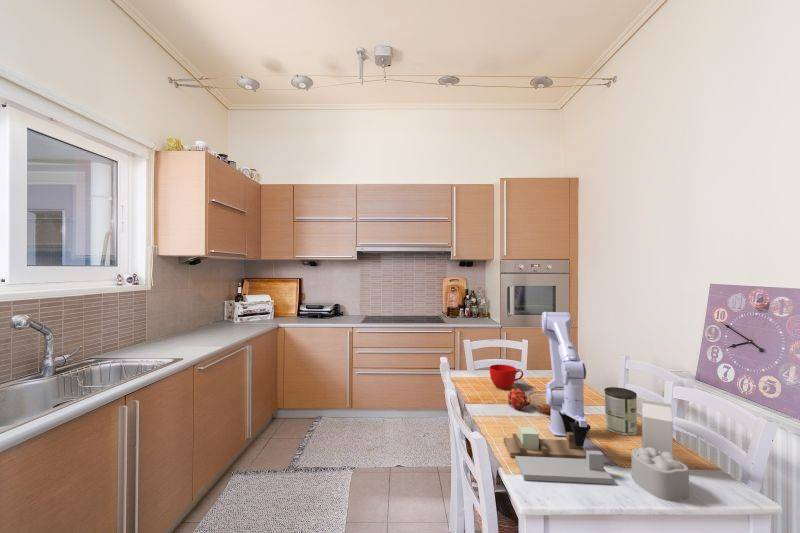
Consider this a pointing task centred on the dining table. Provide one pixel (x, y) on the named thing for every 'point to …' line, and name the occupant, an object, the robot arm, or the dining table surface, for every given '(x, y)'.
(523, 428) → the cube
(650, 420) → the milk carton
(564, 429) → the robot arm
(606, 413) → the coffee can
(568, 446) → the walnut strip
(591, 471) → the slate strip
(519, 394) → the dragon fruit
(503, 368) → the ceramic cup
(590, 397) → the dining table surface
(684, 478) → the lumpy-topped squat cylinder
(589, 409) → the dining table surface
